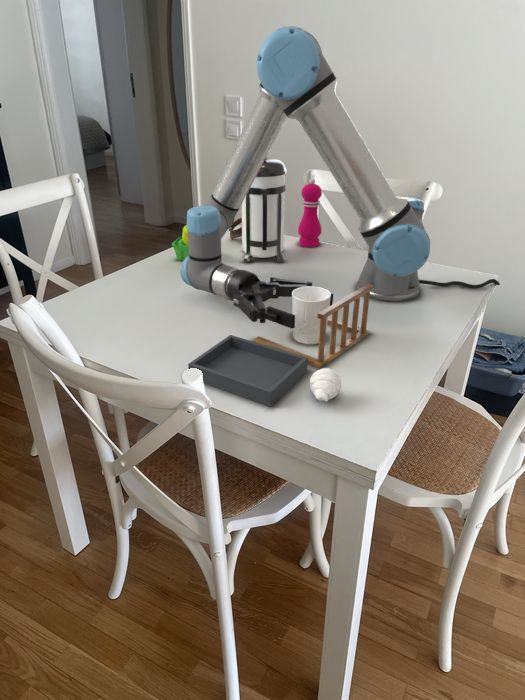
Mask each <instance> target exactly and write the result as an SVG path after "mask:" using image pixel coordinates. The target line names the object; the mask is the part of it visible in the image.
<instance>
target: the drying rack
mask: <svg viewBox="0 0 525 700" xmlns="http://www.w3.org/2000/svg"><path fill="white" fill-rule="evenodd" d="M371 290H373V285H371V284H367V285H365V286H364V287H362V288H360V289H358V288H357V290H355V291H353V292H351V293H350V294H348V295H346V296H344V297H343V298H341V299H339V300H338V301H336V302H333V305H331V306H329V307H327V308H326V309H324V310H322V311H321V312H319V313H318V315H317V318H319V319H320V334H319V343H318V352H317V358H315V357H313V356H311V355H308V354H305V353H303V352H300V351H298V350H296V349H292V348H290V347H288V346H284V345H282V344H280V343H277V342H274V341H272V340H269V339H267V338H264V337H262V336H257V337H255V338H254V339H253V341H254V342H256V343H260V344H263V345H266V346H270V347H273V348H277V349H280V350H283V351H287V352H290V353H293V354H297V355H300V356H304V357H307V358H308V365H310V366H313V367H315V368H318V369H322V368H324V367H325V365H327V364H328V363H330V362H331V361H332V360H334V359H336V358H337V357H338V356H340V355H341V354H343V353H344V352H345V351H347V350H348V349H350V348H351V347H352V346H354V345H356V344H357V343H358V342H359V341H361V340H363V339H364V338H366V337H367V336H368V335H369V333H370V331H369V330H367V323H368V315H369V307H370V306H369V305H370V291H371ZM362 297H363V303H362V305H363V306H362V315H361V323H360V327H358V322H359V312H360V305H361V304H360V302H361V298H362ZM351 303H353V309H352V318H351V319H352V320H351V324H350V323H349V314H350V304H351ZM341 309H342V319H341V320H342V321H341V320H338V319H339V310H341ZM330 316H331V317H330ZM327 317H328V322H327V325H330V339H329V351H328V352H327V353H326V354H325V349H326V348H325V346H326V331H327V327H326V319H327ZM338 328H339V329H341V330H340V331H341V332H340V343H339V345H336V344H337V332H338ZM348 332H350V337H349V338H348V339H347V337H348V336H347V335H348Z"/></svg>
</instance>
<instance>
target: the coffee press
mask: <svg viewBox="0 0 525 700" xmlns="http://www.w3.org/2000/svg"><path fill="white" fill-rule="evenodd" d="M287 173H288V169H287V168H286V166H285V163H284V162H283V161H281V160H280V159H278V158H274V157H266V159H265V161H264V163H263V164H262V166H261V168H260V170H259V172H258V174H257V176H256V178H255V180H254V181H253V183H252V185H251V187H250V189H249V191H248V193H247V195H246V197H245V199H244V200H243V202H242V204H241V218H242V222H241V227H242V236H241V244H242V246H241V247H242V248H241V249H242V251H243V253H244V254H245V255H244V257H243V262H244V263H247V264H249V263H250V262H251V261H252V259H253V258H264V259H265V258H274V259H275V261H276V262H277V263H282V262H284V256H283V254H282V252H283V251H284V244H285V243H284V242H285V206H286V205H285V202H286V201H285V200H286V199H285V198H286V195H285V194H286V191H287V189H286V188H287V183H286V175H287Z"/></svg>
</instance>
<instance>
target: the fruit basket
mask: <svg viewBox="0 0 525 700" xmlns="http://www.w3.org/2000/svg"><path fill="white" fill-rule="evenodd" d="M181 235H182V236H179V237H178V238H176V239H175V240H174V241H173V242H172V243H171V246H172V248H173V250H174V253H175V256H176V259H177V261H182V262H183V261H184V260H185V259H186V258H187V257H188V256H189V244H188V231H187V226H186V225H184V226H183V228H182V233H181Z"/></svg>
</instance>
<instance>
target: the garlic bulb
mask: <svg viewBox="0 0 525 700" xmlns="http://www.w3.org/2000/svg"><path fill="white" fill-rule="evenodd" d="M309 388H310V391H311V392H312V394H313V396H314V397H315V399H316V400H317V401H320V402H328V401H329V400H332V399H333V398H335V397H336V396H337V395H338V394H339V393H340V392H341V389H342V379H341V376H340V375H339V374H338V373H337V372H336V371H335V370H334V369H332V368H329V367H322V368H319V369H318V370H316V371H314V372H313V373H312V375H311V376H310V379H309Z"/></svg>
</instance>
